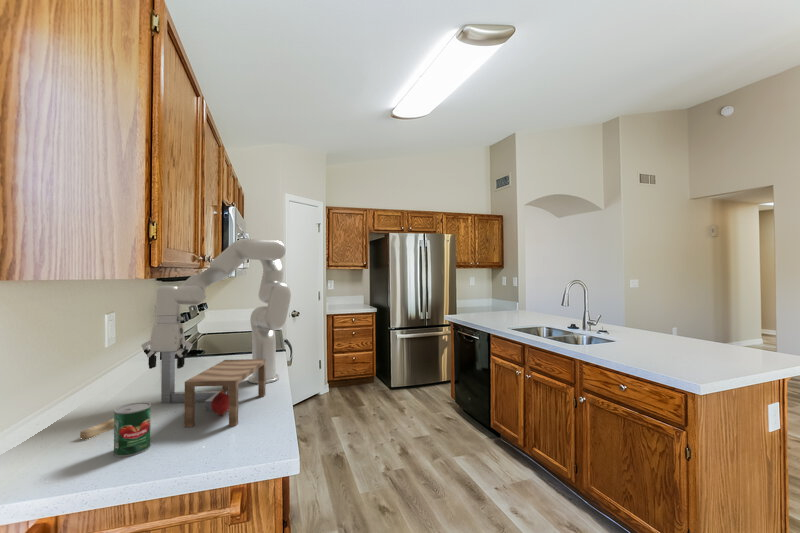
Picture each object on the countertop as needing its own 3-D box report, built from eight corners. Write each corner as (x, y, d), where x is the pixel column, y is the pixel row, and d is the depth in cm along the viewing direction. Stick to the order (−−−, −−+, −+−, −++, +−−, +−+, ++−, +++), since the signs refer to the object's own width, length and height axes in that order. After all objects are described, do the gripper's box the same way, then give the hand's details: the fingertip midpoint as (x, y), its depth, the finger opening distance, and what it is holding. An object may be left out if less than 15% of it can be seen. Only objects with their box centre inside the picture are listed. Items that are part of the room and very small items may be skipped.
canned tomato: (134, 441, 102) (135, 401, 103) (158, 444, 100) (158, 403, 101) (105, 455, 95) (105, 411, 95) (129, 458, 93) (130, 414, 93)
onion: (223, 419, 118) (223, 393, 118) (207, 418, 119) (207, 392, 119) (234, 412, 123) (234, 388, 124) (219, 411, 125) (219, 387, 125)
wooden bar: (125, 421, 118) (125, 413, 118) (132, 421, 117) (132, 413, 117) (80, 440, 104) (80, 431, 104) (87, 441, 104) (87, 432, 104)
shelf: (224, 395, 141) (225, 359, 141) (265, 395, 142) (265, 359, 142) (184, 427, 112) (184, 381, 112) (235, 425, 113) (235, 380, 113)
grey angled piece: (166, 400, 136) (166, 350, 137) (227, 398, 137) (228, 349, 138) (146, 411, 125) (146, 357, 125) (213, 410, 126) (214, 356, 126)
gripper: (197, 319, 140) (196, 365, 139) (149, 318, 139) (148, 365, 138) (187, 321, 132) (185, 370, 131) (136, 320, 131) (134, 370, 131)
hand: (166, 367), depth 135 cm, fingers open, 9 cm apart
